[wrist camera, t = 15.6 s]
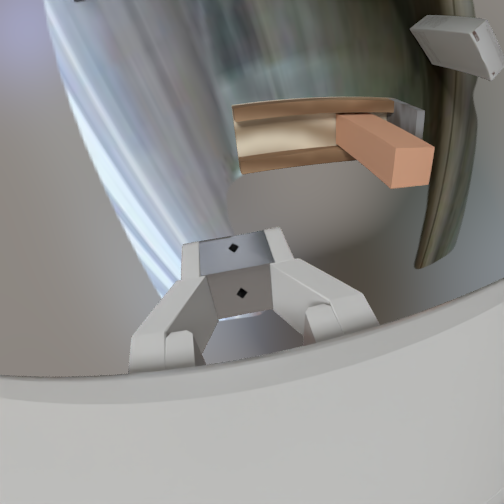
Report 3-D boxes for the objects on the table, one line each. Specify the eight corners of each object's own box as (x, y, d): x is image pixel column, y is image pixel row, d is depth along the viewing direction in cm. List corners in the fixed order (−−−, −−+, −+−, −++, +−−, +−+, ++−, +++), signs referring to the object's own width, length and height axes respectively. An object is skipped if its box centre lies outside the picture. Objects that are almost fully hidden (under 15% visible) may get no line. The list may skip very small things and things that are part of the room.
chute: (231, 105, 38) (239, 117, 31) (392, 97, 40) (424, 110, 33) (239, 167, 44) (248, 192, 38) (389, 151, 46) (417, 172, 39)
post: (335, 113, 40) (395, 148, 28) (369, 112, 40) (434, 147, 28) (335, 143, 43) (390, 188, 31) (368, 141, 43) (428, 184, 31)
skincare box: (447, 50, 34) (509, 66, 22) (430, 65, 36) (493, 84, 25) (424, 12, 30) (489, 17, 18) (405, 27, 32) (471, 34, 20)
